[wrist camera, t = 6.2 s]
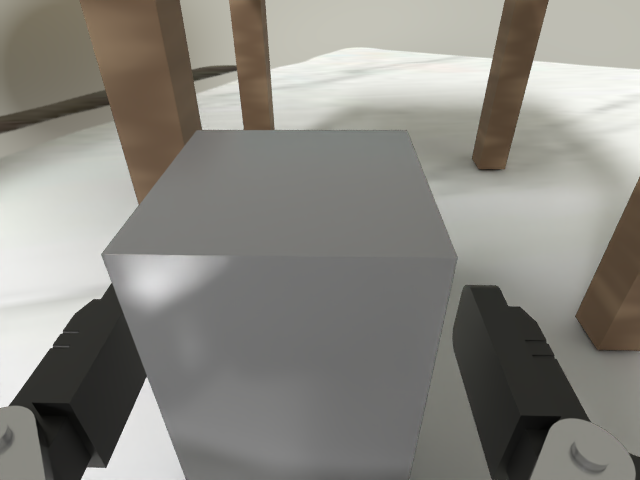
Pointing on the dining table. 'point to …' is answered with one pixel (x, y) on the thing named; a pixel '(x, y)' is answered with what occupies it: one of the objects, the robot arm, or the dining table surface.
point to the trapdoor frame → (257, 111)
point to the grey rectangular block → (288, 302)
